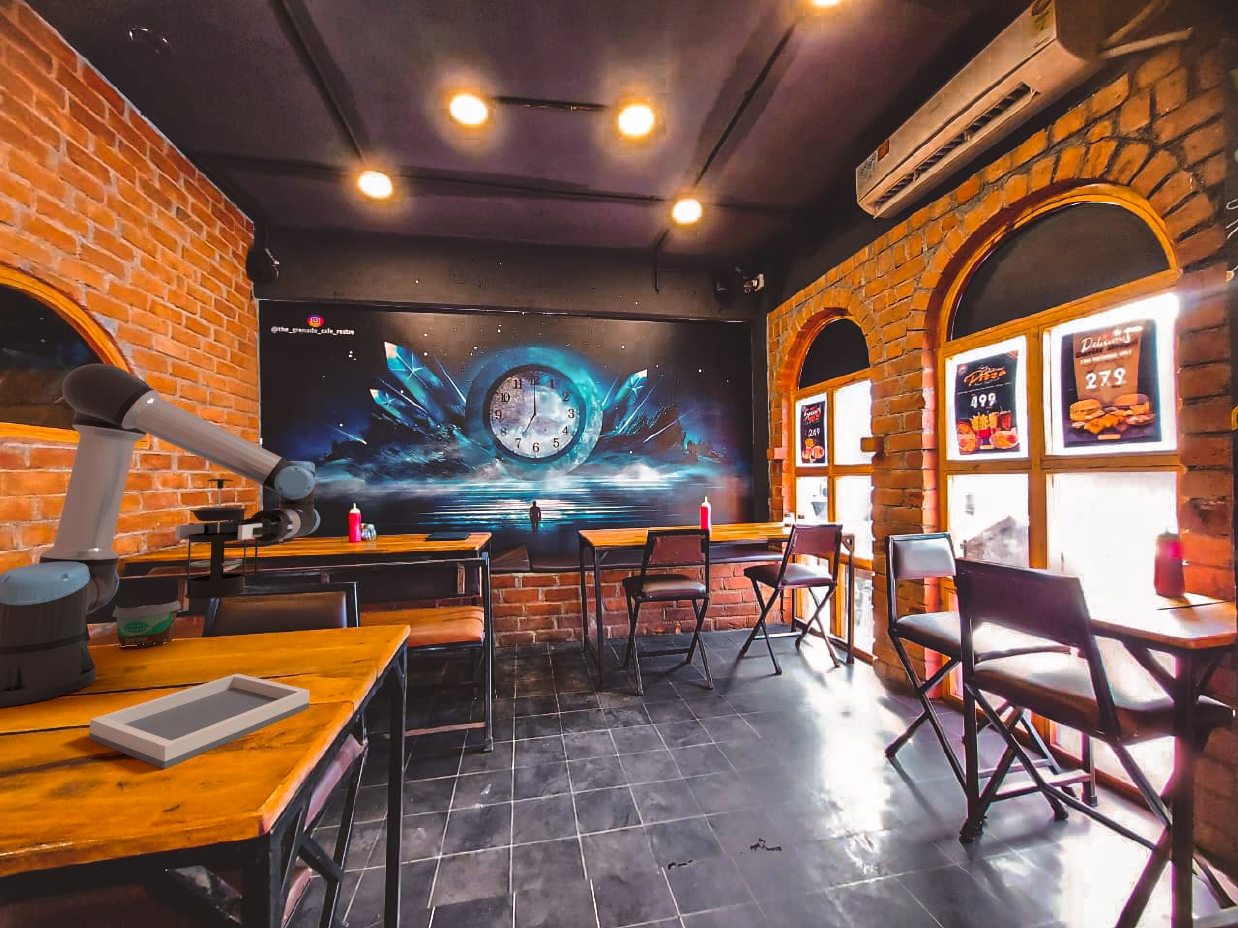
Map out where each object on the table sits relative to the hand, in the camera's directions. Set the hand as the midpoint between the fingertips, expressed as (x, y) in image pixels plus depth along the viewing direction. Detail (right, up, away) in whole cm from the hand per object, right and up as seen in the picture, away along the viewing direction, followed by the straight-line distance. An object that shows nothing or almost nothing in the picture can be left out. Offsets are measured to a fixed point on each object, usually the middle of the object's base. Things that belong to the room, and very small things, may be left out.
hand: (209, 532), depth 95 cm
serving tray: (+12, -29, -15) cm, 35 cm away
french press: (-1, -13, +3) cm, 13 cm away
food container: (-36, -31, +24) cm, 53 cm away
